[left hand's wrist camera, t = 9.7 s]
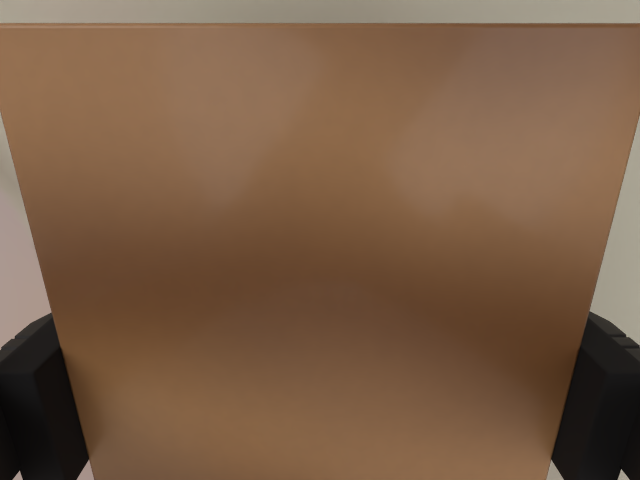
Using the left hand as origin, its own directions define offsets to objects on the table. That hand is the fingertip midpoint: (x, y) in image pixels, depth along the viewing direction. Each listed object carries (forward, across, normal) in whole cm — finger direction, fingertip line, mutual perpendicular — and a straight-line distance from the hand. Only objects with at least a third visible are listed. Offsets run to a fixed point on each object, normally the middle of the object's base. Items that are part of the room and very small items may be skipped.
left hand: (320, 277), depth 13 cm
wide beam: (+1, 0, -27) cm, 27 cm away
